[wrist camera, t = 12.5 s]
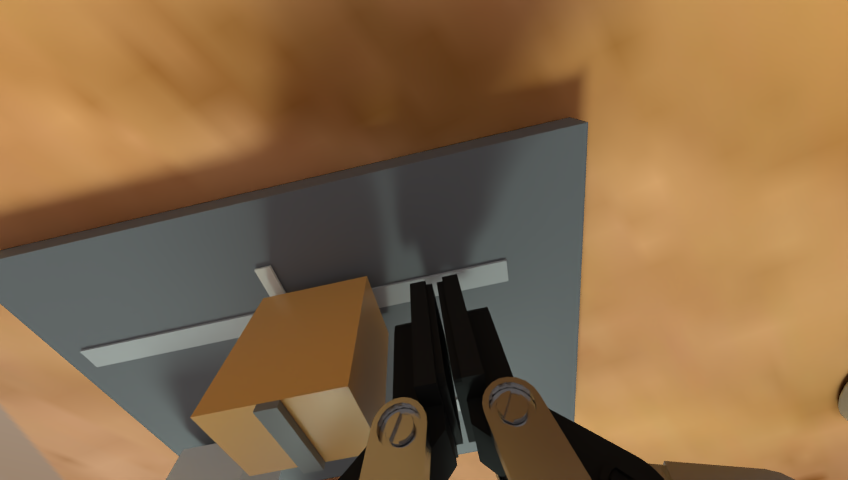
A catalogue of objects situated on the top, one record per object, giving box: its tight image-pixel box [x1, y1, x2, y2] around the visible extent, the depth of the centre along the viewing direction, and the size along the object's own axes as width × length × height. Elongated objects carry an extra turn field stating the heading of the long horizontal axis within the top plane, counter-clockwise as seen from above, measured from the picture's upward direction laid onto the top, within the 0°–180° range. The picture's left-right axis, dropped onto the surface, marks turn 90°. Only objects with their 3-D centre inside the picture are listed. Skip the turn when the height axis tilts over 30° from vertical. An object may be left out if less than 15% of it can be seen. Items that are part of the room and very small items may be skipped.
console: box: [0, 117, 588, 480], centre depth 15 cm, size 22×18×1 cm
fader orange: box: [190, 276, 389, 476], centre depth 10 cm, size 4×3×5 cm
